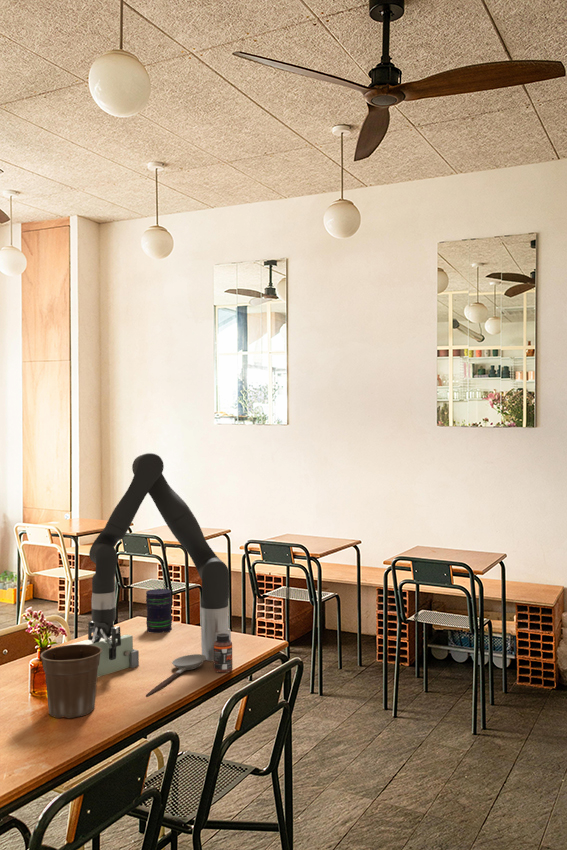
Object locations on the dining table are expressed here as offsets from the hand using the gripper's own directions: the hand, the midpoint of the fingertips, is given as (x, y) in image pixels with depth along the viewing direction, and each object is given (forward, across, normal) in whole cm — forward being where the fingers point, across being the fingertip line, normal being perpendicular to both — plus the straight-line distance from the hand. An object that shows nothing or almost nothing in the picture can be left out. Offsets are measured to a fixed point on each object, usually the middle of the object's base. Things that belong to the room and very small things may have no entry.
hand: (104, 656), depth 233 cm
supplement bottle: (+5, +28, +25) cm, 38 cm away
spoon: (+6, +22, +10) cm, 24 cm away
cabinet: (+5, -5, 0) cm, 7 cm away
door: (+5, 0, 0) cm, 5 cm away
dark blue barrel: (+5, -28, +45) cm, 53 cm away
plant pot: (+5, +20, -25) cm, 33 cm away
